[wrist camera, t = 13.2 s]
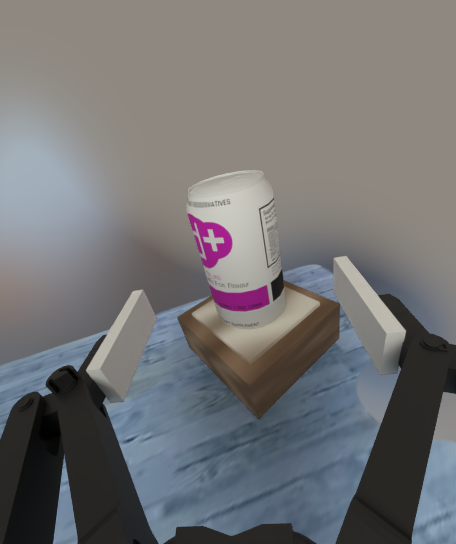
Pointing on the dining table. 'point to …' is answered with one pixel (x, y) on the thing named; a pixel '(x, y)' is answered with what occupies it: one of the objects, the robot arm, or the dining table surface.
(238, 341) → the walnut pedestal
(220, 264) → the supplement can
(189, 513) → the dining table surface
